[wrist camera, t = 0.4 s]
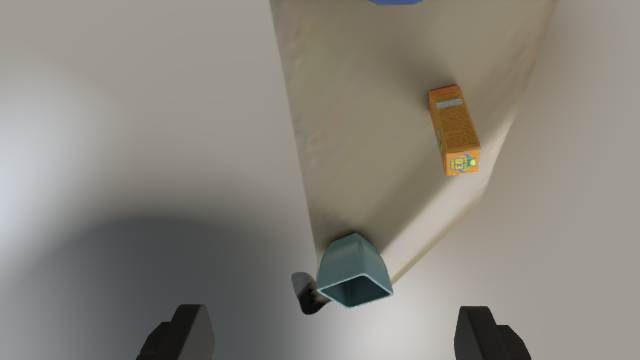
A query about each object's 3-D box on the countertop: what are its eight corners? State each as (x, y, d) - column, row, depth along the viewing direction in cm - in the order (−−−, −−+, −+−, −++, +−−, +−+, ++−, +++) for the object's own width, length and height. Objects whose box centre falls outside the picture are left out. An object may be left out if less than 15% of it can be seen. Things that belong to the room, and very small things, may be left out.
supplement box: (425, 90, 41) (445, 153, 34) (458, 83, 40) (485, 146, 33) (427, 114, 43) (446, 177, 36) (458, 108, 42) (483, 171, 36)
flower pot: (388, 246, 63) (395, 296, 57) (345, 262, 67) (347, 310, 61) (360, 221, 58) (364, 273, 52) (315, 240, 62) (315, 290, 56)
